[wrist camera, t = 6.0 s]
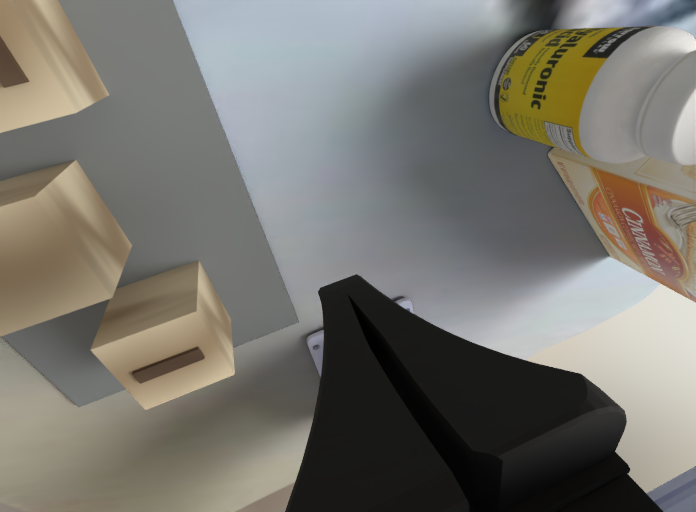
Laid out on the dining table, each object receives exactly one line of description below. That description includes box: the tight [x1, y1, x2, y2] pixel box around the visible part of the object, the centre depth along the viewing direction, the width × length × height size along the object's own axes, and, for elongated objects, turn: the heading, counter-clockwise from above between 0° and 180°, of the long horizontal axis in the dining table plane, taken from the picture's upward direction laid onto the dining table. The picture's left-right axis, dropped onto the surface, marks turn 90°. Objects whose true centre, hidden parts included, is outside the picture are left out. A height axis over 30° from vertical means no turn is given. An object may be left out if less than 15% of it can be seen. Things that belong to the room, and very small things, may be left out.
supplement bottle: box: [489, 26, 696, 166], centre depth 17 cm, size 5×5×10 cm
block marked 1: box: [90, 261, 235, 410], centre depth 18 cm, size 4×4×5 cm
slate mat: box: [0, 0, 299, 407], centre depth 17 cm, size 22×14×1 cm, turn 12°
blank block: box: [0, 160, 132, 337], centre depth 14 cm, size 4×4×4 cm
